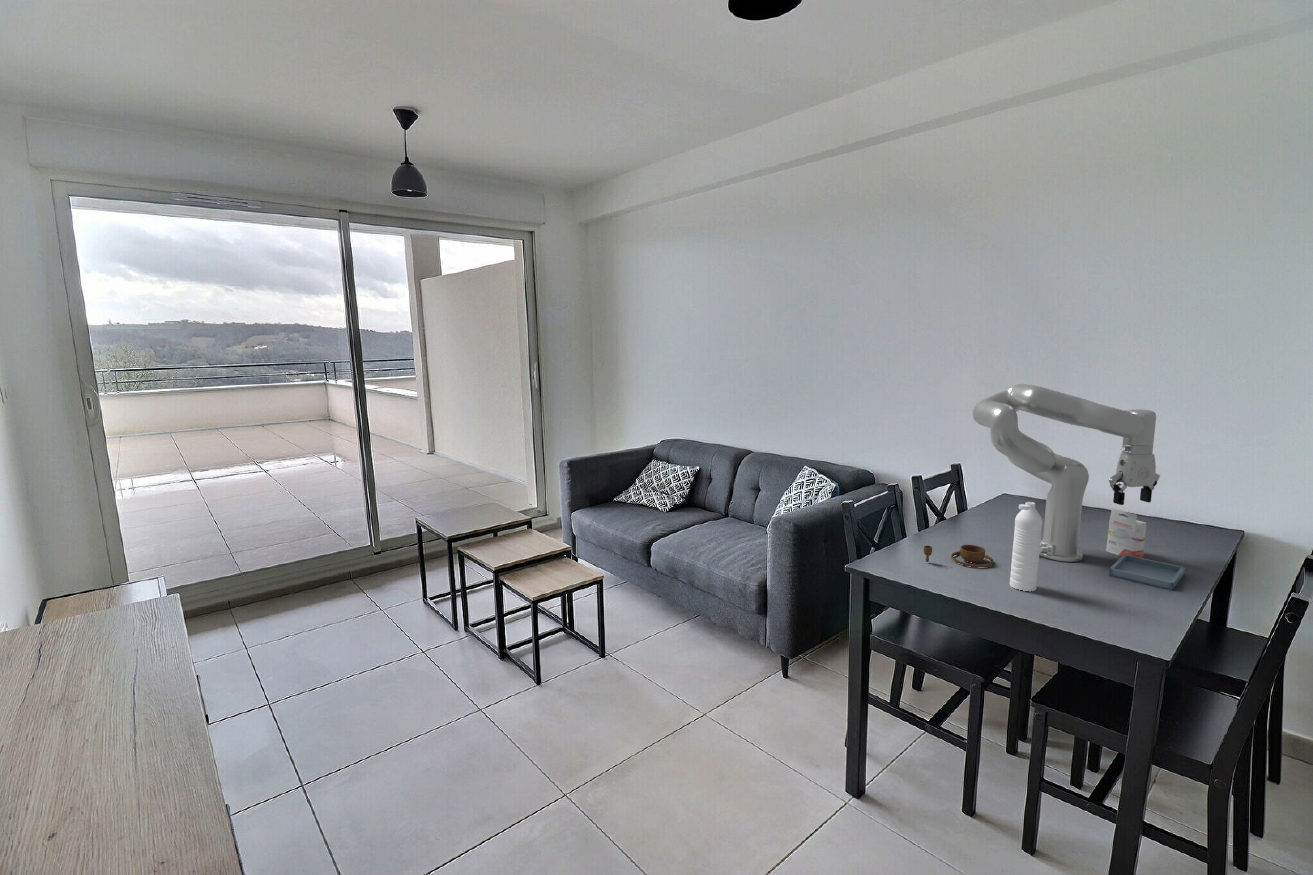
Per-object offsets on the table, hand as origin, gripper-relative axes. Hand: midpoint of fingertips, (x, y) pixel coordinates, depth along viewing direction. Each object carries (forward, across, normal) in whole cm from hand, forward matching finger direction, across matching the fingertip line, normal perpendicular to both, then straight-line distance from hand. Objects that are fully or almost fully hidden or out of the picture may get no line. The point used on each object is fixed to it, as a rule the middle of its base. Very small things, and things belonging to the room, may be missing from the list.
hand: (1131, 502), depth 192 cm
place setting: (+17, -54, +7) cm, 57 cm away
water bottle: (+17, -51, -16) cm, 56 cm away
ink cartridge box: (+18, -1, 0) cm, 18 cm away
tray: (+17, -9, -15) cm, 24 cm away
